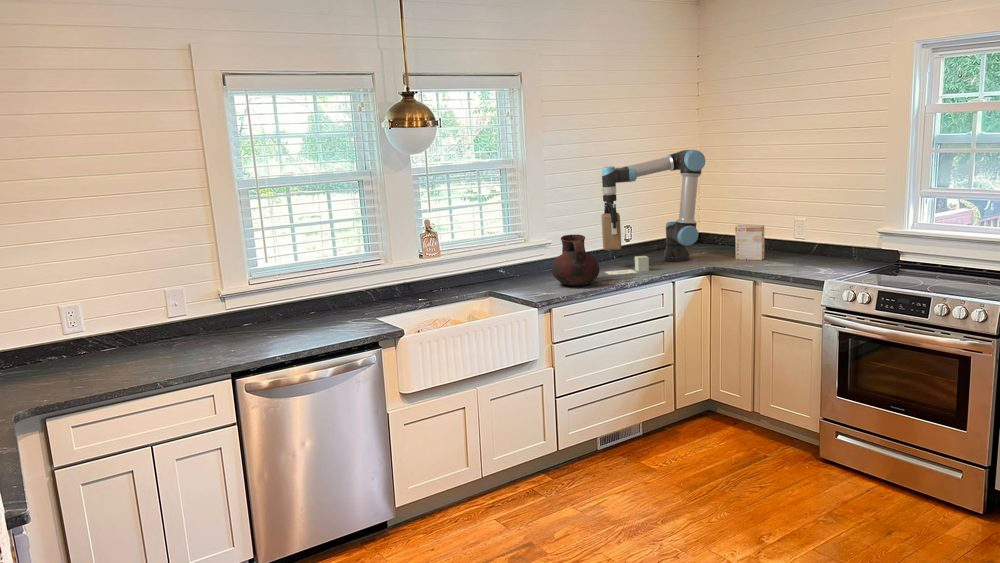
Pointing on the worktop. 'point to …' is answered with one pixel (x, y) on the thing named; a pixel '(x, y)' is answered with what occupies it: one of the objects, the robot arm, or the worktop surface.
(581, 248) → the jug
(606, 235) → the wooden block
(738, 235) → the coffeecake box
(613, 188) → the robot arm
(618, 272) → the letter
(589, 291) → the worktop surface
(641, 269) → the sage block
